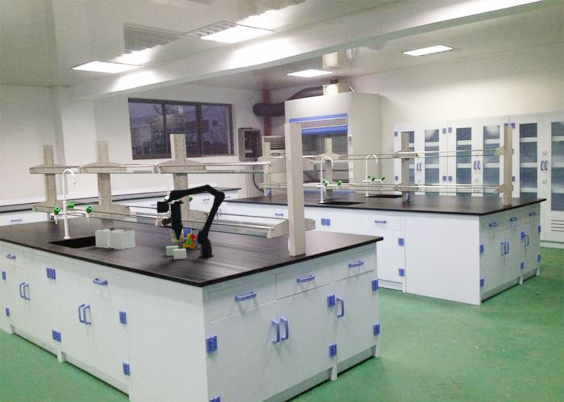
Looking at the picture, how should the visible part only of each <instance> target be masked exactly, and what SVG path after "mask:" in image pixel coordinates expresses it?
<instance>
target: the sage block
mask: <svg viewBox="0 0 564 402" xmlns="http://www.w3.org/2000/svg"><path fill="white" fill-rule="evenodd" d="M173 249H179V245H167V246H166V247H165V250H166V253H165V254H166V256H167V257H169V256H170V257H171V256H174V253H173Z"/></svg>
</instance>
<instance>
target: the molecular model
mask: <svg viewBox="0 0 564 402" xmlns="http://www.w3.org/2000/svg"><path fill="white" fill-rule="evenodd" d="M194 239H195V240H197V237H196V235H195V233H187V234H186V241H185V243H183V244H182V249H188V248H190V249H191V250H195V249H196V248H197V247H199V243H198V242H197V241H196V242H195V240H194Z"/></svg>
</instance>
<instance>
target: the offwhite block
mask: <svg viewBox="0 0 564 402" xmlns="http://www.w3.org/2000/svg"><path fill="white" fill-rule="evenodd" d="M173 253H174V255H173V260H183V259H187V248H178V249H173Z"/></svg>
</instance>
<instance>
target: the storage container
mask: <svg viewBox="0 0 564 402" xmlns="http://www.w3.org/2000/svg"><path fill="white" fill-rule="evenodd" d="M94 232H95V233H94V234H95V248H102V247H103V248H104V249H111V248H114V250H121V249H122V250H126V248H127V249H131V248H135V247H136V236H135V234H136V232H135V230H134V229H133V230H128V231H125V229H113V230H111V228H104V229H99V230H95V231H94ZM109 247H110V248H109Z"/></svg>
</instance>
